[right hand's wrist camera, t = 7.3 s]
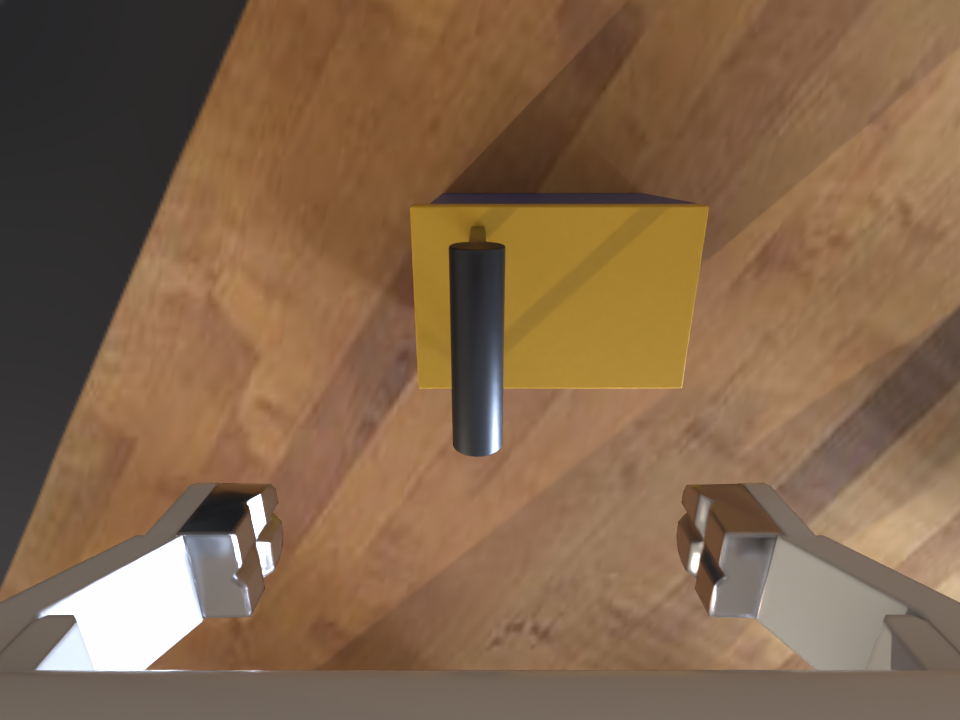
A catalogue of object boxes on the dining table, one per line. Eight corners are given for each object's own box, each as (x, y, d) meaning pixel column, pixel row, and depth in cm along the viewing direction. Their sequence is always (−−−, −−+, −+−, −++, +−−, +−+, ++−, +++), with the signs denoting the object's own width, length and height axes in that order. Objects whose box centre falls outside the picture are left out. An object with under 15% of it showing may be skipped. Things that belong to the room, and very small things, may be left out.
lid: (420, 379, 29) (394, 474, 20) (413, 204, 25) (377, 225, 17) (674, 379, 29) (758, 474, 20) (699, 203, 25) (814, 225, 17)
